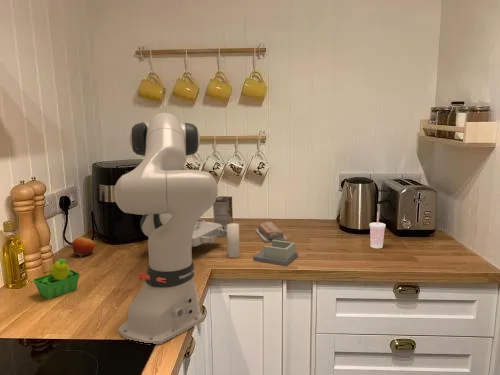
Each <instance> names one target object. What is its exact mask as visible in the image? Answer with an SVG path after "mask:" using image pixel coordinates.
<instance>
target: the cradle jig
mask: <svg viewBox="0 0 500 375" xmlns="http://www.w3.org/2000/svg"><path fill="white" fill-rule="evenodd" d="M298 257H299V252H297V251H296V242H292V241H278V240H272V242H271V246H270V245H263V248H262V249H261V251H259V252H258V253H256V254H254V255H253V256H252V259H253V262H260V263H265V264H266V263H267V264H272V265H278V266H284V267H287V266H288V265H290V264H291V263H292V262H294V260H295V259H297V258H298Z"/></svg>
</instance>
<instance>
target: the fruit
mask: <svg viewBox="0 0 500 375" xmlns="http://www.w3.org/2000/svg"><path fill="white" fill-rule="evenodd" d="M71 247H72V251H73V255H74V256H79V258H80V259H81V258H82V257H83V256H88V255H89V256H90V255H91V254H92V252H93V250H94V249H95V241H94V240H92V239H90V238H87V237H82V236H80V237H76V238H75V239H74V240H73V242H72V246H71Z"/></svg>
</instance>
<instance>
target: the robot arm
mask: <svg viewBox="0 0 500 375" xmlns="http://www.w3.org/2000/svg"><path fill="white" fill-rule="evenodd" d="M128 139H129V144H130V147H131V149H132V152H133V153H134V154H135V155H138V156H142V157H144V158H143V159H142V160H141V162H140V163H139V164H138V165H137V166H136V167H134V169H133V170H131V171H129V172H127V173H125V174H122V175H121V176H120V177H119V178H118V179H117V181H116V183H115V186H114V192H113V198H114V201H115V203H116V205H117V206H118V208H119V210H121V211H122V212H123V213H125V214H134V215H140V216H142V217H141V219H140V229H141V232H142V233H143V235H144V236H146V237H147V238H148V239H147V245H148V246H147V247H148V263H149V264H148V266H147V270H146V272H143V271H140V272H138V275H137V279H138V280H139V281H143V282H144V284H143V286H142V287H141V289H140V290H139V291H138V293H137V294H136V296H135V298H134V299H133V300H132V302H131V303H130V304H129V307H128V310H127V320H126V321H125V322H123V323H122V324H121V325H120V326H119V327H118V329H117V331H118V334H119V335H120V336H122V337H123V338H124V339H127V340H128V339H130V340H129V341H131V340H134V341H139V342H144V343H153V344H156V345H162V344H164V343H166V342H168V341H169V339H170V340H172V339H174V338H175V337H177V336H178V334H179V335H181V334H182V333H184V332H186V331H188V330H190V329H192V328H193V327H195V326H196V325H199V324H200V323H202V322H204V319H205V318H204V315H203V313H202V312H201V307H200V300H199V293H198V288H197V286H196V284H195V280H194V277H195V265H194V264H195V263H194V261H193V255H192V254H193V253H192V249H193V247H198V246H200V245H202V244H206V243H208V244H209V243H210V244H211V243H212V244H213V243H215V242H216V237H219V236H218V235H220V234H221V235H222V236H226V235H227V231H226V230H223V226H222V225H221V224H218V223H214V221H213V222H211V221H206V220H204V219H200V218H201V217H202V216H203V215H204V214H205V213H206V212H208V210H210V209H211V208H213V204H214V203H215V201H216V198H217V197H218V194H219V188H218V184H217V181H216V179H215V178H214V176H213V175H212V173H210V172H209V171H205V170H197V169H193V168H192V169H183V168H184V166H185V164H186V163H187V157H188V156H192V155H194V154H196V153H197V152H198V151H199V148H200V144H201V134H200V132H199V130H198V127H197V126H196V125H195V124H193V123H189V122H185V123H181V122H180V120H179V119H178V117H177V116H175V115H174V114H172V113H169V112H160V113H157V114H155V115H154V116H153V117H152V118H151V120H150V122H138V123H136V124H134V125H132V128H131V130H130V132H129V137H128ZM185 330H186V331H185ZM183 331H184V332H183ZM181 332H182V333H181ZM180 333H181V334H180ZM176 335H177V336H176ZM171 338H172V339H171ZM167 340H168V341H167ZM134 341H133V342H134ZM165 341H166V342H165ZM163 342H164V343H163Z"/></svg>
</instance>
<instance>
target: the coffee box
mask: <svg viewBox="0 0 500 375" xmlns="http://www.w3.org/2000/svg"><path fill="white" fill-rule="evenodd" d="M212 208H213V223H218V224H221V225H222V226H223V230H226V231H227V224H230V223H234V218H233V196H222V195H221V196H217V198H216V201H215V203H214V204H213V205H212ZM217 237H225V238H227V235H226V236H222V235H221V234H220V235H218V236H217Z"/></svg>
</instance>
